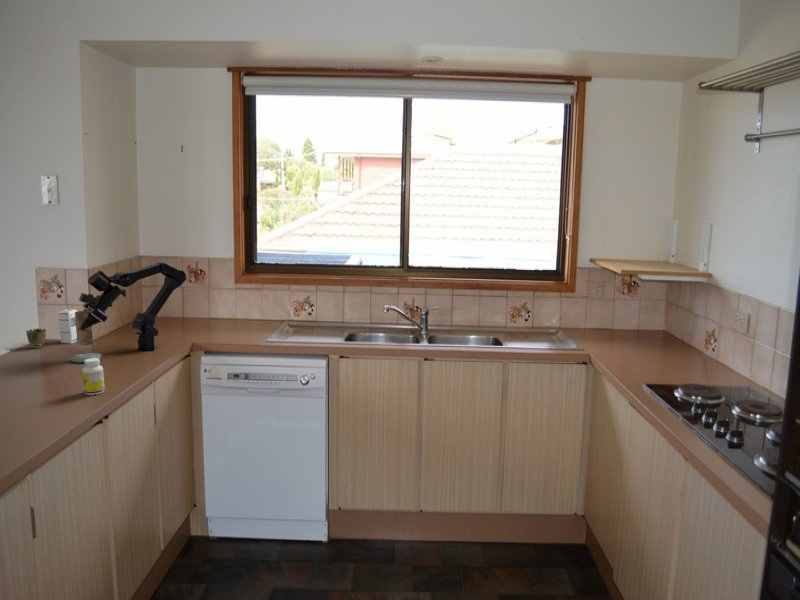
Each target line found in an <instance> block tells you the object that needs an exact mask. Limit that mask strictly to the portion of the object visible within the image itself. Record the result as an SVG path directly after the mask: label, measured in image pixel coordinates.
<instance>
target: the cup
mask: <svg viewBox="0 0 800 600" xmlns="http://www.w3.org/2000/svg"><path fill="white" fill-rule="evenodd" d="M46 330H47V329H46V328H43V329H42V328H38V327H37V328H36V329H35V328H33V329H32V328H31V329H28V330H26V331H25V333H26V337H27V340H28V343H29V344H30V345H32V348H33V349H35V348H37V349H41V348H42V347H43V344H44V343H45V341H46V334H47V333H46ZM40 347H41V348H40Z"/></svg>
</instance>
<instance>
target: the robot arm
mask: <svg viewBox="0 0 800 600" xmlns="http://www.w3.org/2000/svg"><path fill="white" fill-rule="evenodd" d="M158 274H160V275H162V276H164V281H163V285H162V286H161V288H160V289H159V291H158V292H157V294H156V295H155V297H154V298H153V299H152V301H151V302H150V304H149V305H148V307H147V308H146V309H145V311H144V312H142V313H141V312H138V313H137V314H136V315H135V317H134V318H133V319H132V324H131V326H132V329H133V331H134V332H135V333H136V335H138V338H137V347H138V351H139V352H141V351H142V352H143V351H144V352H145V351H149V350H150V351H151V352H153V351H155V350H156V349H157V348H158V345H157V336H158V334H159V330H158V329H157V328H156V327H154V326H155V325H156V318H157V316H158V315H159V313H160V311H161V310H162V308H163V307H164V305H166V302H168V299H170V296H171V295H172V294H173V292H174V291H175V290H176V289H178V288H180V287H181V286H182V285H183V284H184V283H185V281H186V280H187V275H186V272H185V271H184V270H180V269H177V268H175V267H173V266H171V265H169V264H167V263H166V262H162V261H161V262H160V261H159V262H156V263H154V264H150V265H147V266H144V267H141V268H138V269H135V270H127V271H125V270H124V271H118V272H116V273H114V274H113V275H111V276H107V275H106V273H104V272H103V271H102V270H98V271H97V272H95V273H93V274H92V275H90V277H89V278H88V280H87V283H88V284H89V285H90V286H91V287H93V289H95V290H96V291H98V292H99V293H100V292H102V293H101V294H98V295H96V296H94V294H92V293H88V294H87V293H83V292H81V293H80V296H79V298H78V301H79V302H81V303H83V305H82V307H83V311H87V310H88V311H89V312H90V313H89V312H88V318H87V319H86V321H85V322H84V323H83V325H82V327H81V329H82V330H84V329H86V328H88V327H90V326H95V325H97V324H100V323H102V322H103V323H105V322H106V321H107V320H108V315H107V314H106V312H107V310H108V309H109V308H112V307H113V304H114V303H115V301H116V300H117V299H118V298H119V297H120V296H122V297H124V298H126V297H127V293H126V291H127V290H126V289H124V288H129V287H130V286H133V285H134V284H136V282H137V281H140V280H142V279H146V278H148V277H151V276H154V275H158ZM112 284H114V285H112ZM120 287H123V288H120Z"/></svg>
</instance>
